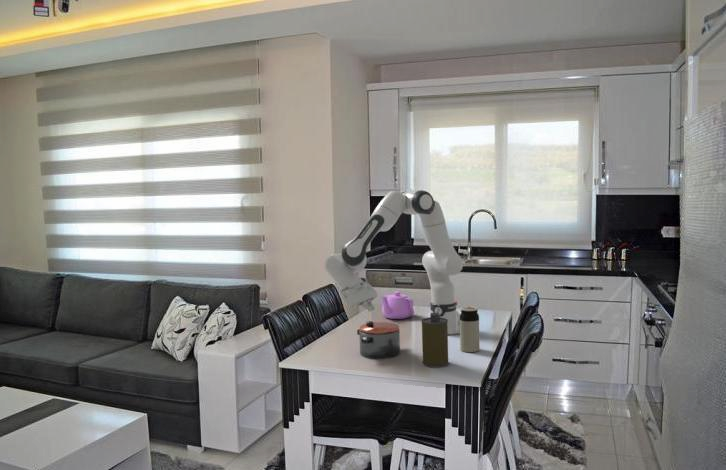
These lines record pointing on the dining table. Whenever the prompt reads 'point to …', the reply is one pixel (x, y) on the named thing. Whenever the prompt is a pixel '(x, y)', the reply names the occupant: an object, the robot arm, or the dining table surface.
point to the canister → (435, 341)
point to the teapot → (397, 306)
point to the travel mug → (469, 329)
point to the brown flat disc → (379, 328)
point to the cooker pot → (379, 345)
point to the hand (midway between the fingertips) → (372, 310)
